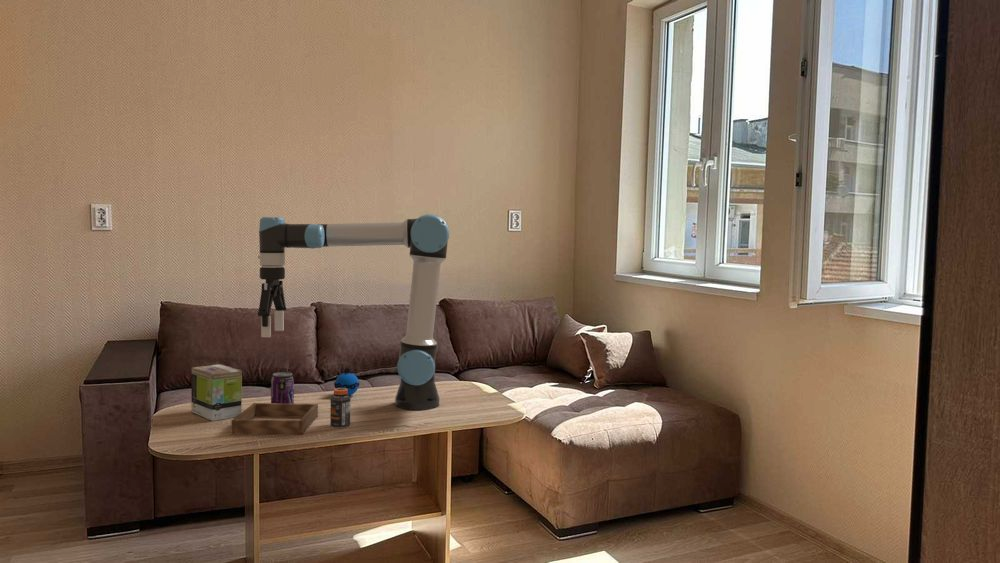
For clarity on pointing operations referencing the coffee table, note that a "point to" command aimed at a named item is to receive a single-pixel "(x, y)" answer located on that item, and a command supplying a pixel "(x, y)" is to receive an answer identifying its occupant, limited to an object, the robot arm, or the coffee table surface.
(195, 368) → the tea box
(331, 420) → the pill bottle
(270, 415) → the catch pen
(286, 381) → the beverage can
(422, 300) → the robot arm
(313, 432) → the coffee table surface
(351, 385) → the ornament
